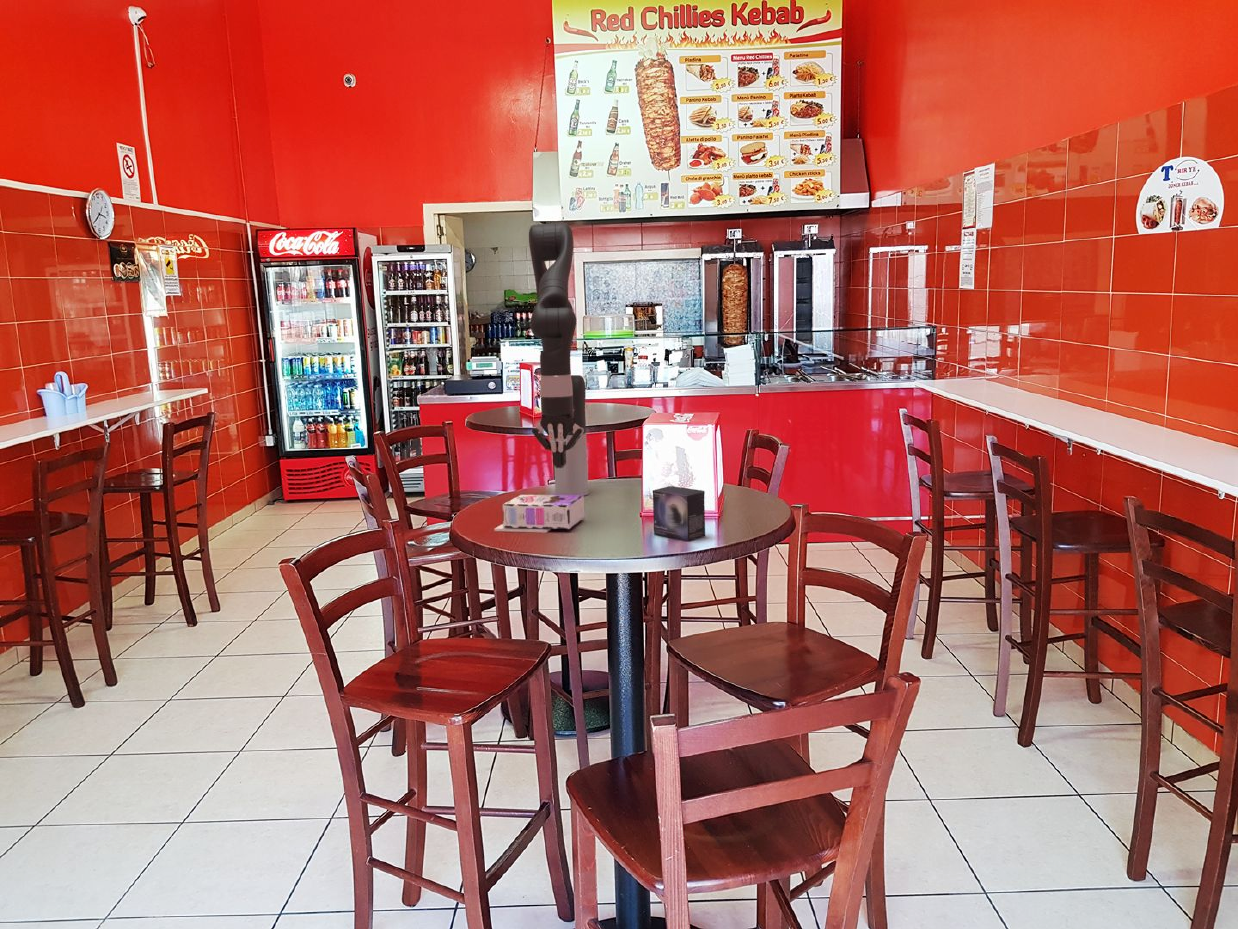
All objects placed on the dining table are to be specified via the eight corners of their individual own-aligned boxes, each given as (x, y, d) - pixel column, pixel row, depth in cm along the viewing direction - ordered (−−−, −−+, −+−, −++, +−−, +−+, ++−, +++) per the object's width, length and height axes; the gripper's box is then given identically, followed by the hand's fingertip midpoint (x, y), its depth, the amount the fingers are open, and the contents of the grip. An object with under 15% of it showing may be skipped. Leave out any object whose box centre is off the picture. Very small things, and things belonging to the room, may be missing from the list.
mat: (519, 516, 240) (519, 514, 240) (568, 518, 237) (568, 515, 237) (494, 531, 225) (494, 528, 225) (546, 532, 222) (546, 530, 222)
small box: (651, 535, 216) (650, 489, 214) (671, 530, 220) (670, 485, 219) (687, 542, 208) (686, 494, 207) (706, 536, 213) (705, 490, 211)
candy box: (569, 504, 220) (501, 504, 223) (570, 529, 221) (502, 528, 224) (584, 493, 233) (519, 493, 237) (585, 517, 234) (520, 516, 238)
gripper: (588, 392, 226) (591, 465, 229) (535, 393, 230) (538, 464, 232) (578, 395, 219) (581, 470, 222) (524, 396, 222) (527, 469, 225)
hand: (559, 467), depth 227 cm, fingers closed
